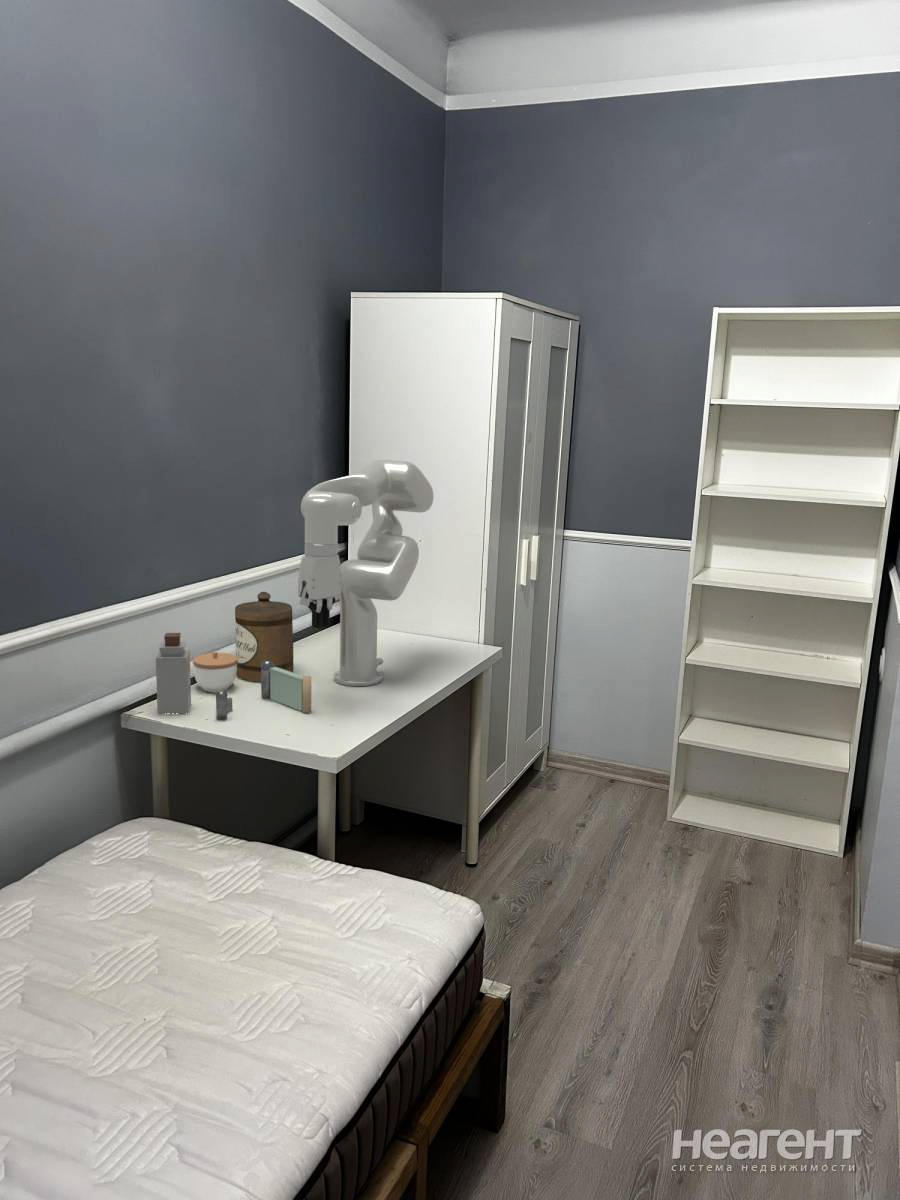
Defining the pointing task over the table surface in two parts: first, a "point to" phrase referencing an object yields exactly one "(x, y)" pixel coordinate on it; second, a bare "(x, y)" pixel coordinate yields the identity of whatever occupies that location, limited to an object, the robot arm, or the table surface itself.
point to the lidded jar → (215, 671)
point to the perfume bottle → (173, 676)
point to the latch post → (222, 705)
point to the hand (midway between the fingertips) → (320, 626)
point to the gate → (290, 689)
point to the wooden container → (263, 636)
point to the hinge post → (265, 679)
